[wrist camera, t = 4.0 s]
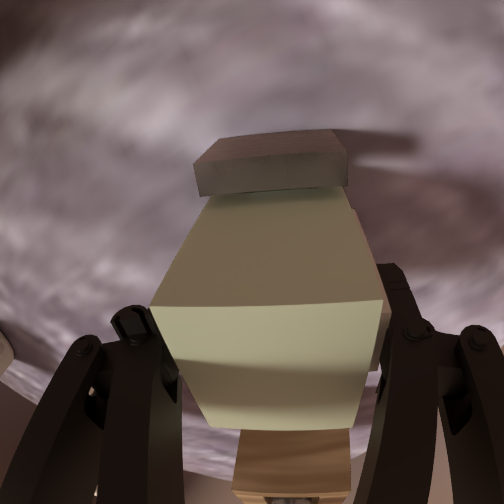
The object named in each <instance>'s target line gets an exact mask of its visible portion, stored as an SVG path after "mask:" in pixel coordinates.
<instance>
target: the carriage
mask: <svg viewBox="0 0 504 504" xmlns="http://www.w3.org/2000/svg"><path fill="white" fill-rule="evenodd" d="M382 305H383V297H382V293H381V290H380V287H379V284H378V281H377V278H376V275H375V272H374V269H373V266H372V263H371V260H370V257H369V254H368V251H367V249H366V246H365V243H364V240H363V238H362V235H361V232H360V230H359V227H358V224H357V222H356V219H355V216H354V214H353V211H352V209H351V206H350V204H349V201H348V199H347V196H346V194H345V192H344V189H343V187H342V186H332V187H316V188H314V189H297V190H282V191H268V192H256V193H245V192H244V193H233V194H222V195H212V196H211V197H210V199H209V200H208V202H207V204H206V205H205V207H204V209H203V210H202V212H201V214H200V215H199V217H198V219H197V220H196V222H195V224H194V226H193V227H192V229H191V231H190V232H189V234H188V236H187V238H186V239H185V241H184V243H183V245H182V246H181V248H180V250H179V252H178V253H177V255H176V257H175V259H174V261H173V262H172V264H171V266H170V268H169V270H168V271H167V273H166V275H165V277H164V279H163V281H162V282H161V284H160V286H159V288H158V290H157V292H156V294H155V295H154V297H153V299H152V301H151V303H150V305H149V308H150V310H151V313H152V315H153V317H154V319H155V321H156V324H157V326H158V328H159V330H160V332H161V334H162V337H163V339H164V341H165V343H166V345H167V347H168V349H169V351H170V353H171V355H172V357H173V359H174V361H175V363H176V365H177V367H178V369H179V371H180V373H181V375H182V377H183V379H184V381H185V382H186V384H187V386H188V388H189V390H190V392H191V394H192V395H193V397H194V399H195V401H196V403H197V404H198V406H199V408H200V410H201V411H202V413H203V415H204V417H205V418H206V420H207V422H208V424H209V425H210V427H219V428H232V429H248V430H282V431H292V430H327V429H342V428H352V427H353V424H354V421H355V418H356V415H357V411H358V408H359V405H360V401H361V398H362V394H363V390H364V387H365V383H366V379H367V375H368V371H369V367H370V363H371V359H372V354H373V350H374V346H375V341H376V336H377V331H378V326H379V321H380V316H381V311H382Z"/></svg>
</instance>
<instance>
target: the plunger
mask: <svg viewBox="0 0 504 504" xmlns="http://www.w3.org/2000/svg"><path fill="white" fill-rule="evenodd" d="M272 504H312V497H272Z"/></svg>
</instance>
